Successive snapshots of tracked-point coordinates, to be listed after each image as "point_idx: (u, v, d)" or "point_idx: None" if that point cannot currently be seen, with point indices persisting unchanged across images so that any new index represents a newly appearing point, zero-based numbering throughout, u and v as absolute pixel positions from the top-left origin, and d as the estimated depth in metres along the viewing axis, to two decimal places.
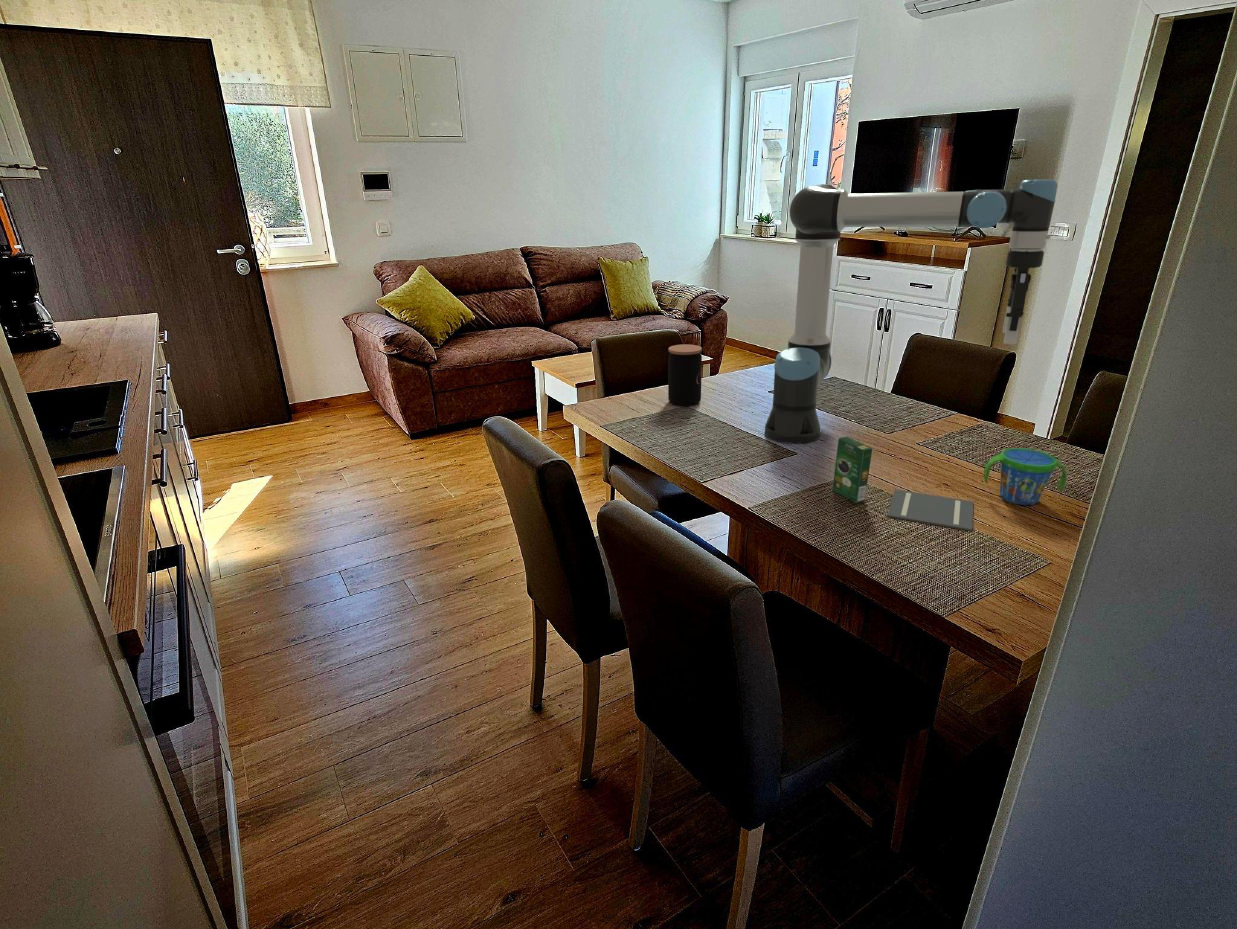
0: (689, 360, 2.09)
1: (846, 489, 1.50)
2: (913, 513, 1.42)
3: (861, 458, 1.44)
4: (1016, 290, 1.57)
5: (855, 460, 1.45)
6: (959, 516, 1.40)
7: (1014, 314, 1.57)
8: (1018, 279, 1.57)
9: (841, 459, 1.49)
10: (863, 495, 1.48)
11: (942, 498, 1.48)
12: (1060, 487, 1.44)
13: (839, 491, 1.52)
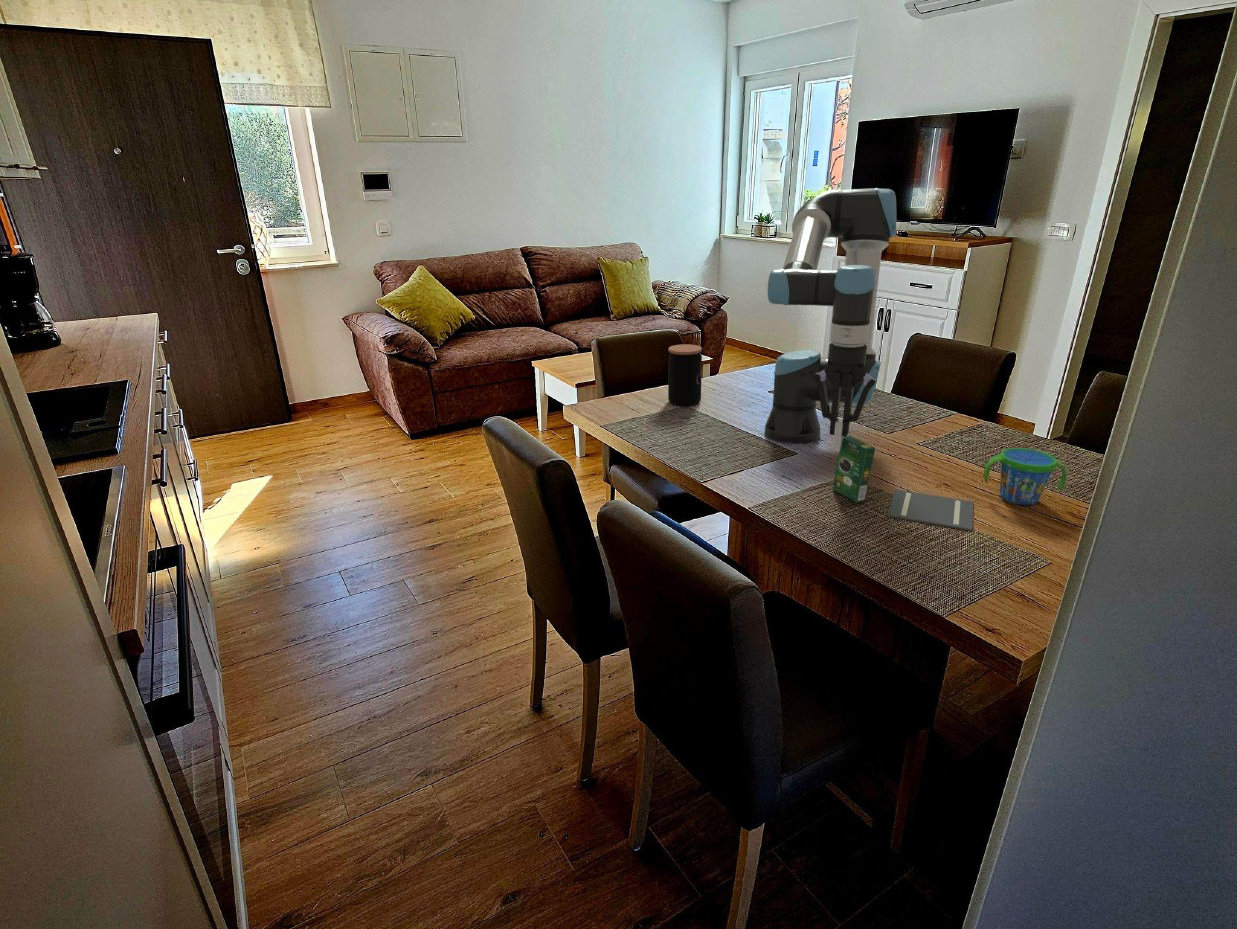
0: (689, 360, 2.09)
1: (846, 488, 1.50)
2: (913, 513, 1.42)
3: (864, 457, 1.44)
4: None
5: (857, 459, 1.46)
6: (959, 516, 1.40)
7: None
8: None
9: (843, 458, 1.49)
10: (863, 495, 1.48)
11: (942, 498, 1.48)
12: (1060, 487, 1.44)
13: (840, 490, 1.52)
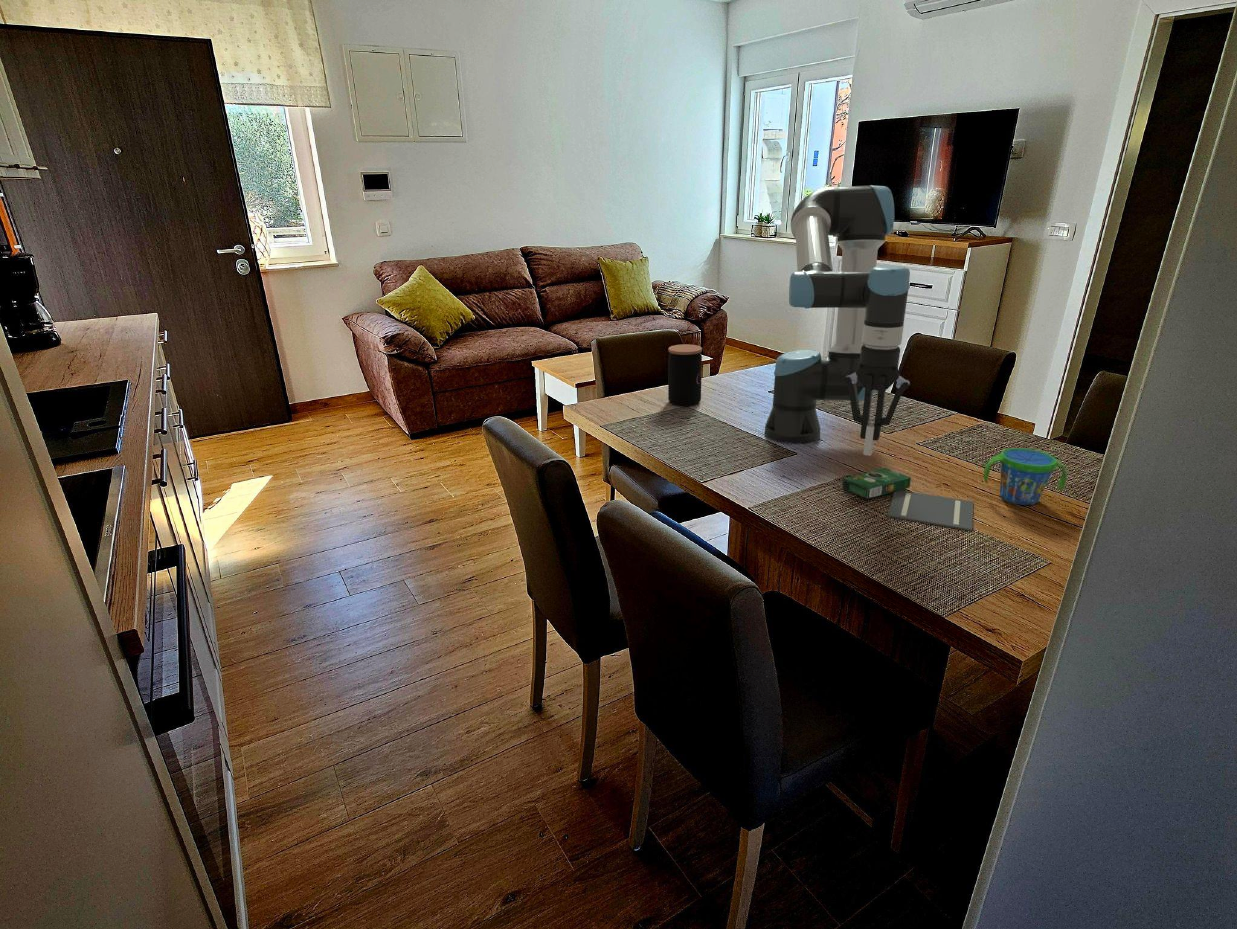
0: (689, 360, 2.09)
1: (864, 481, 1.51)
2: (913, 513, 1.42)
3: (903, 478, 1.52)
4: None
5: (894, 477, 1.53)
6: (959, 516, 1.40)
7: None
8: None
9: (877, 473, 1.56)
10: (872, 495, 1.49)
11: (942, 498, 1.48)
12: (1060, 487, 1.44)
13: (853, 480, 1.52)
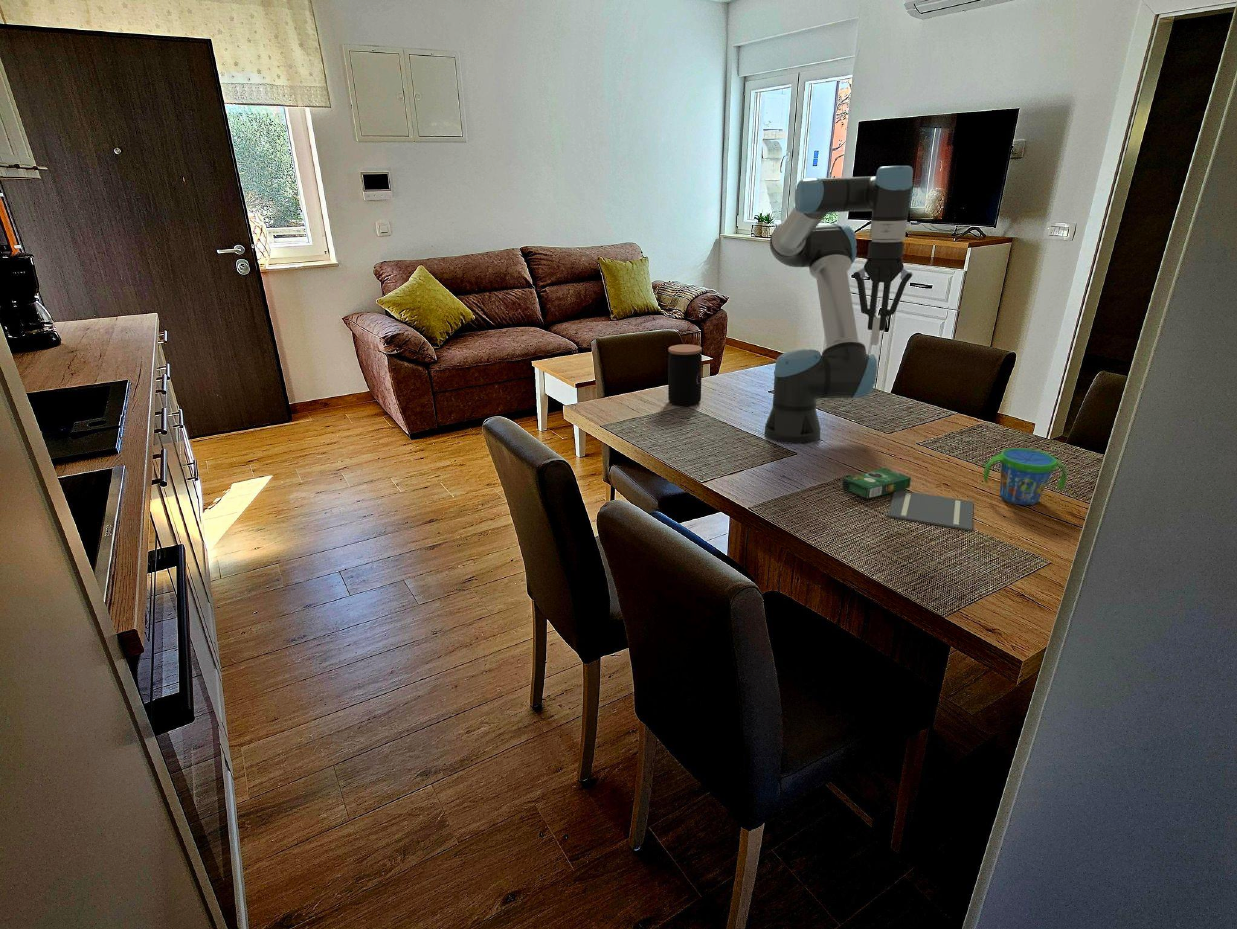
0: (689, 360, 2.09)
1: (864, 481, 1.51)
2: (913, 513, 1.42)
3: (903, 478, 1.52)
4: None
5: (894, 477, 1.53)
6: (959, 516, 1.40)
7: None
8: None
9: (877, 473, 1.56)
10: (872, 495, 1.49)
11: (942, 498, 1.48)
12: (1060, 487, 1.44)
13: (853, 480, 1.52)
